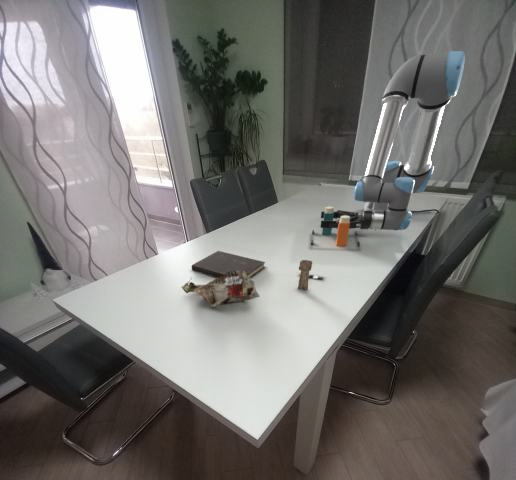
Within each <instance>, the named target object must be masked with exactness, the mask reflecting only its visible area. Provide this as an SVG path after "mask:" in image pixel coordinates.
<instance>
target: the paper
mask: <svg viewBox="0 0 516 480" xmlns="http://www.w3.org/2000/svg"><path fill="white" fill-rule="evenodd" d="M180 288H181V289H182V290H183V292H184V293H186V294H188V293H195V294H198V295H200V296H201V298H202V299H206V300H207V302H209V303H210V308H214V307H215V306H222V305H232V304H239V303H240V304H241V303H245V301H250V300H253V299H256V298H259V297H261V295H260V294H259V292H258V291H257V289H256V285H255V281H254V280H253V279H252V278H249V277H248V276H247V274H246V273H245V271H235V270H232V271H230V272H228V273H226V274H225V275H223V276H221V277H219V278H217V277H216V278H214V279H212V280H211V281H209V282H208V283H206V284H198V283H197V284H195V283H194V282H192V278H190V279H189V281H187V282H185V283H184V284H183V285H182V286H181V287H180Z"/></svg>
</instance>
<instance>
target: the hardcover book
mask: <svg viewBox="0 0 516 480" xmlns="http://www.w3.org/2000/svg"><path fill="white" fill-rule="evenodd" d="M265 263H266V261H263V260H258V259H254V258H250V257H245V256H242V255H237V254H233V253H229V252H224V251H221V250H217V251H215V252H213V253H211V254H209V255H208V256H206V257H204V258H202V259H200V260H198V261H197V262H195V263H193V264H192V265H191V270H192V271H194V272H196V273H201V274H204V275H207V276H210V277H213V278H216V279H217V278H219V277H221V276H223V275H225V274H226V273H228V272H230V271H232V270H235V271H245V273H246V274H247V276H248V277H249V278H250V279H252V278H253V277H254V276H256V275H257V274H259V273H260V272H261V271H262V270H265V268H266V266H265Z"/></svg>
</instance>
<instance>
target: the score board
mask: <svg viewBox="0 0 516 480" xmlns="http://www.w3.org/2000/svg"><path fill="white" fill-rule="evenodd" d="M353 234H354V236H358V231H357V230H354V233H353ZM311 235H312V236H313V235H315V230H314V229H312V230H311ZM313 245H314V240H313V239H311V240H310V246H313ZM360 245H361V244H360V241H357V242H356V246H357V247H358V248H359V247H360Z"/></svg>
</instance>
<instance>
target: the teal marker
mask: <svg viewBox="0 0 516 480" xmlns="http://www.w3.org/2000/svg"><path fill="white" fill-rule="evenodd" d="M334 210H335V207H334V206H326V207H325V210H324V211H323V212H324V218H323V220H322V221H334V218H333V217H334V212H335V211H334ZM321 229H322V230H321V235H323V236H324V235H325V236H332V230H333V228H321Z"/></svg>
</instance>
